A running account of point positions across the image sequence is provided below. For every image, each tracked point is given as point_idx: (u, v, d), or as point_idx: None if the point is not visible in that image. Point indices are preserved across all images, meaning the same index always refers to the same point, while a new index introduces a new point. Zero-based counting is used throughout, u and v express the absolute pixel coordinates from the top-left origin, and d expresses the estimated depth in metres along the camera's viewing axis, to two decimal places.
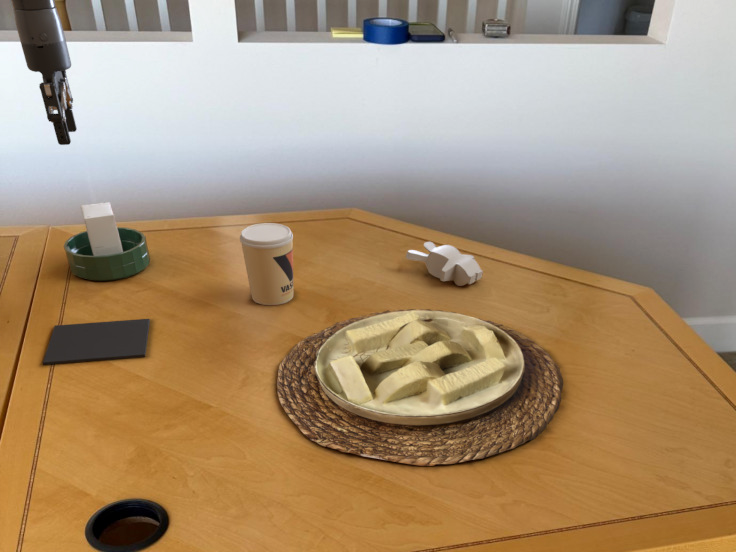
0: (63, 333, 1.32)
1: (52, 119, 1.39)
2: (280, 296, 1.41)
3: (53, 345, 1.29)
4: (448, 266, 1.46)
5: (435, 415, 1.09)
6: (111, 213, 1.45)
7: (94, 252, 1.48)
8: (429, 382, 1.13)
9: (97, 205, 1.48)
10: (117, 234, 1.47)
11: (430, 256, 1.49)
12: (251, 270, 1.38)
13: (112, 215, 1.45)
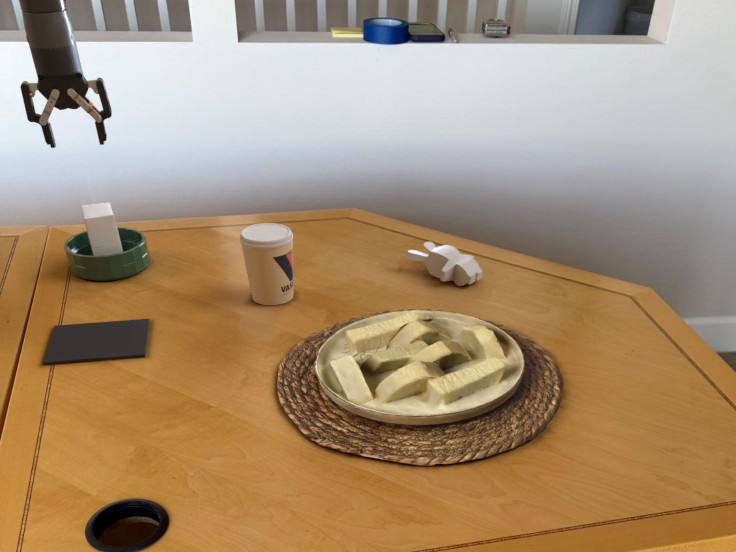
0: (63, 333, 1.32)
1: None
2: (280, 296, 1.41)
3: (53, 345, 1.29)
4: (448, 266, 1.46)
5: (435, 415, 1.09)
6: (111, 213, 1.45)
7: (94, 252, 1.48)
8: (429, 382, 1.13)
9: (97, 205, 1.48)
10: (117, 234, 1.47)
11: (430, 256, 1.49)
12: (251, 270, 1.38)
13: (112, 215, 1.45)
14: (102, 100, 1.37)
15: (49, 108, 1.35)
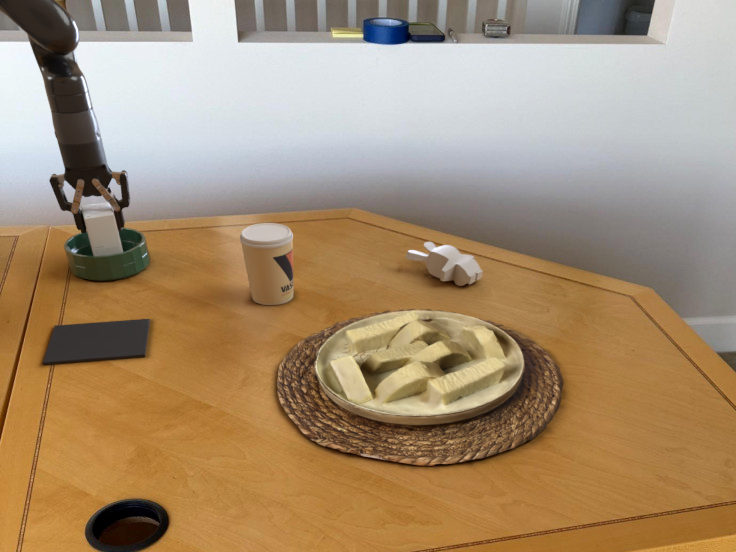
0: (63, 333, 1.32)
1: None
2: (280, 296, 1.41)
3: (53, 345, 1.29)
4: (448, 266, 1.46)
5: (435, 415, 1.09)
6: (111, 213, 1.45)
7: (94, 252, 1.47)
8: (429, 382, 1.13)
9: (97, 205, 1.48)
10: (117, 234, 1.47)
11: (430, 256, 1.49)
12: (251, 270, 1.38)
13: (112, 215, 1.45)
14: (123, 191, 1.44)
15: (78, 197, 1.43)
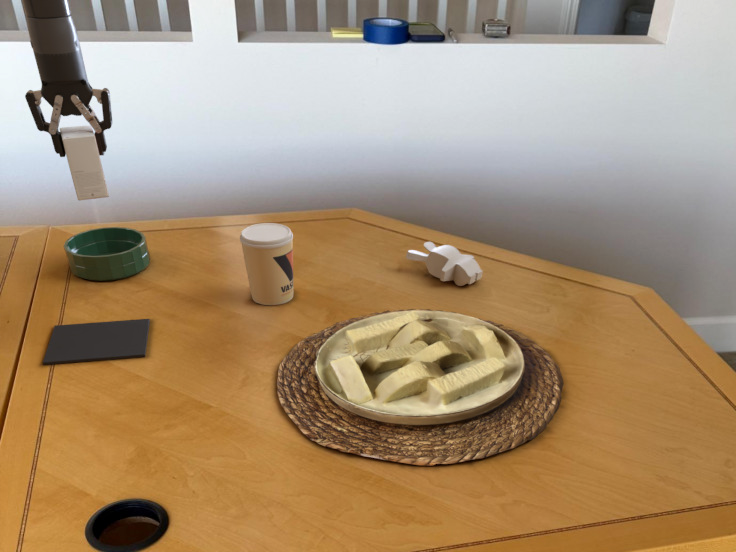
0: (63, 333, 1.32)
1: None
2: (280, 296, 1.41)
3: (53, 345, 1.29)
4: (448, 266, 1.46)
5: (435, 415, 1.09)
6: (92, 134, 1.36)
7: (73, 177, 1.38)
8: (429, 382, 1.13)
9: (77, 127, 1.39)
10: (98, 158, 1.38)
11: (430, 256, 1.49)
12: (251, 270, 1.38)
13: (93, 136, 1.36)
14: (104, 110, 1.35)
15: (56, 116, 1.34)
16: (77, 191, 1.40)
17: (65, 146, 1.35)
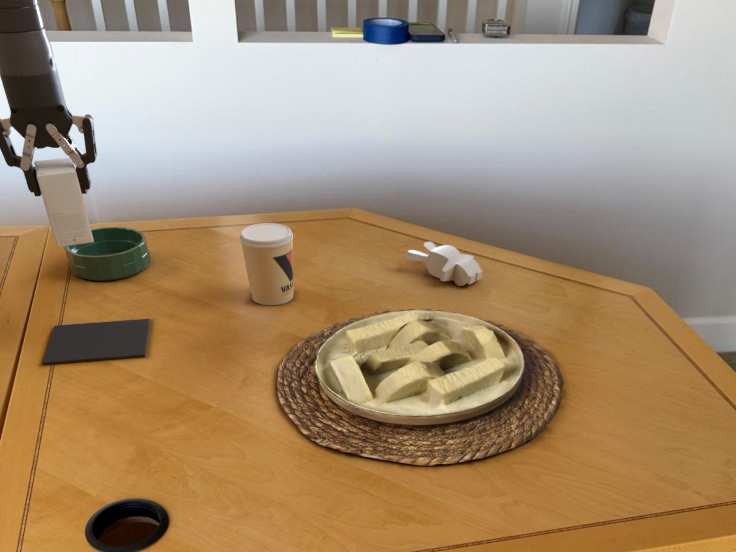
0: (63, 333, 1.32)
1: None
2: (280, 296, 1.41)
3: (53, 345, 1.29)
4: (448, 266, 1.46)
5: (435, 415, 1.09)
6: (72, 170, 1.13)
7: (51, 220, 1.16)
8: (429, 382, 1.13)
9: (55, 161, 1.17)
10: (80, 197, 1.15)
11: (430, 256, 1.49)
12: (251, 270, 1.38)
13: (73, 172, 1.13)
14: (86, 141, 1.12)
15: (28, 149, 1.11)
16: (56, 236, 1.17)
17: (40, 185, 1.12)
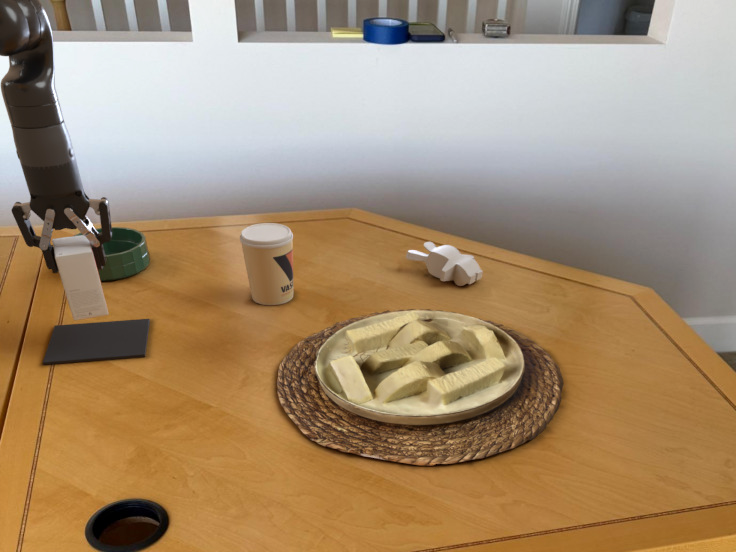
0: (63, 333, 1.32)
1: None
2: (280, 296, 1.41)
3: (53, 345, 1.29)
4: (448, 266, 1.46)
5: (435, 415, 1.09)
6: (89, 249, 1.18)
7: (68, 296, 1.21)
8: (429, 382, 1.13)
9: (72, 239, 1.21)
10: (96, 275, 1.20)
11: (430, 256, 1.49)
12: (251, 270, 1.38)
13: (90, 252, 1.18)
14: (103, 223, 1.17)
15: (47, 230, 1.16)
16: (72, 311, 1.22)
17: (58, 264, 1.17)
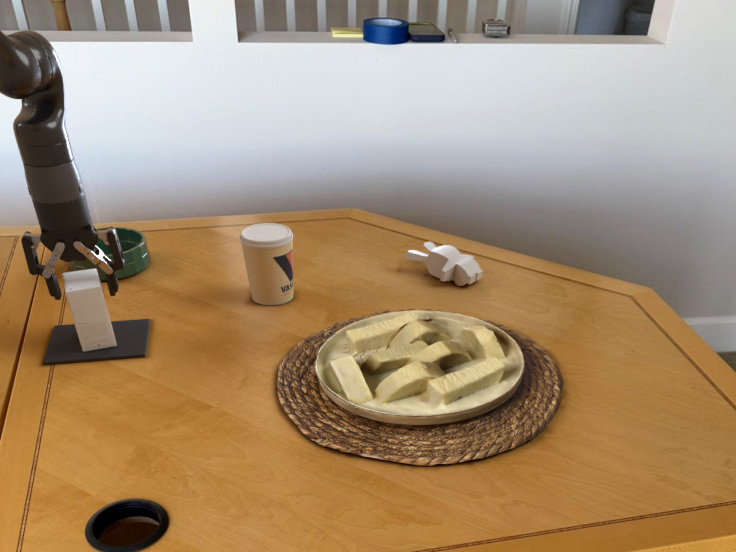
0: (63, 333, 1.32)
1: None
2: (280, 296, 1.41)
3: (53, 345, 1.29)
4: (448, 266, 1.46)
5: (435, 415, 1.09)
6: (98, 284, 1.22)
7: (78, 329, 1.24)
8: (429, 382, 1.13)
9: (82, 273, 1.25)
10: (105, 308, 1.24)
11: (430, 256, 1.49)
12: (251, 270, 1.38)
13: (99, 287, 1.22)
14: (113, 252, 1.20)
15: (53, 261, 1.19)
16: (82, 343, 1.26)
17: (68, 299, 1.21)
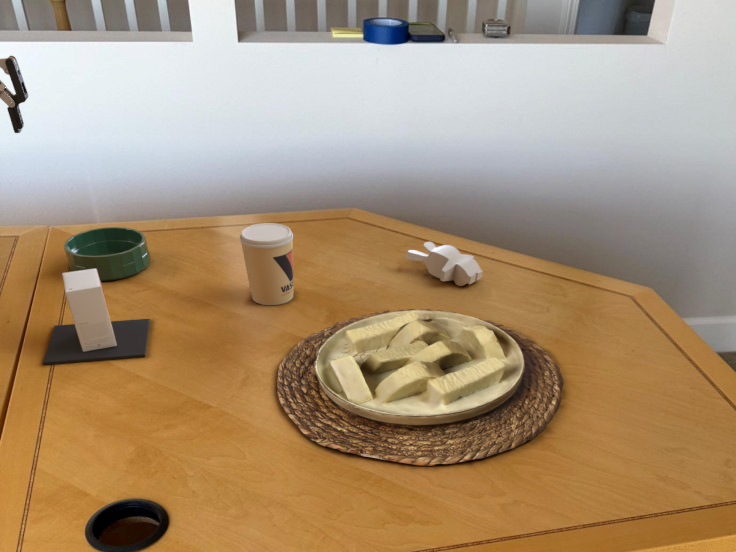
0: (63, 333, 1.32)
1: None
2: (280, 296, 1.41)
3: (53, 345, 1.29)
4: (448, 266, 1.46)
5: (435, 415, 1.09)
6: (98, 284, 1.22)
7: (78, 329, 1.24)
8: (429, 382, 1.13)
9: (82, 273, 1.25)
10: (105, 308, 1.24)
11: (430, 256, 1.49)
12: (251, 270, 1.38)
13: (99, 287, 1.22)
14: (14, 82, 1.19)
15: None
16: (82, 343, 1.26)
17: (68, 299, 1.21)
